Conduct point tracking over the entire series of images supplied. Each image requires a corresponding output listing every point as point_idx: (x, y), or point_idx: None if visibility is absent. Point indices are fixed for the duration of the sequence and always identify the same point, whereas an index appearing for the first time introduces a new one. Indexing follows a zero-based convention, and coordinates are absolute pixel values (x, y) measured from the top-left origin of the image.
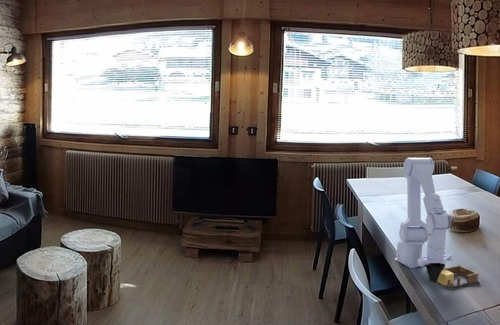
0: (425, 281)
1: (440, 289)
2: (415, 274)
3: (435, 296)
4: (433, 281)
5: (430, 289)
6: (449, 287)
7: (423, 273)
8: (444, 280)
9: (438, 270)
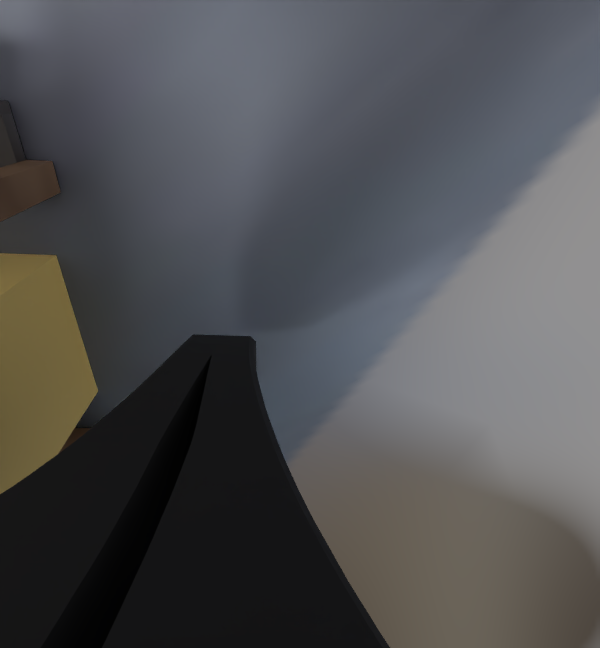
0: None
1: (231, 193)
2: None
3: (563, 22)
4: (255, 355)
5: (381, 259)
6: (28, 162)
7: None
8: (12, 314)
9: (106, 563)
